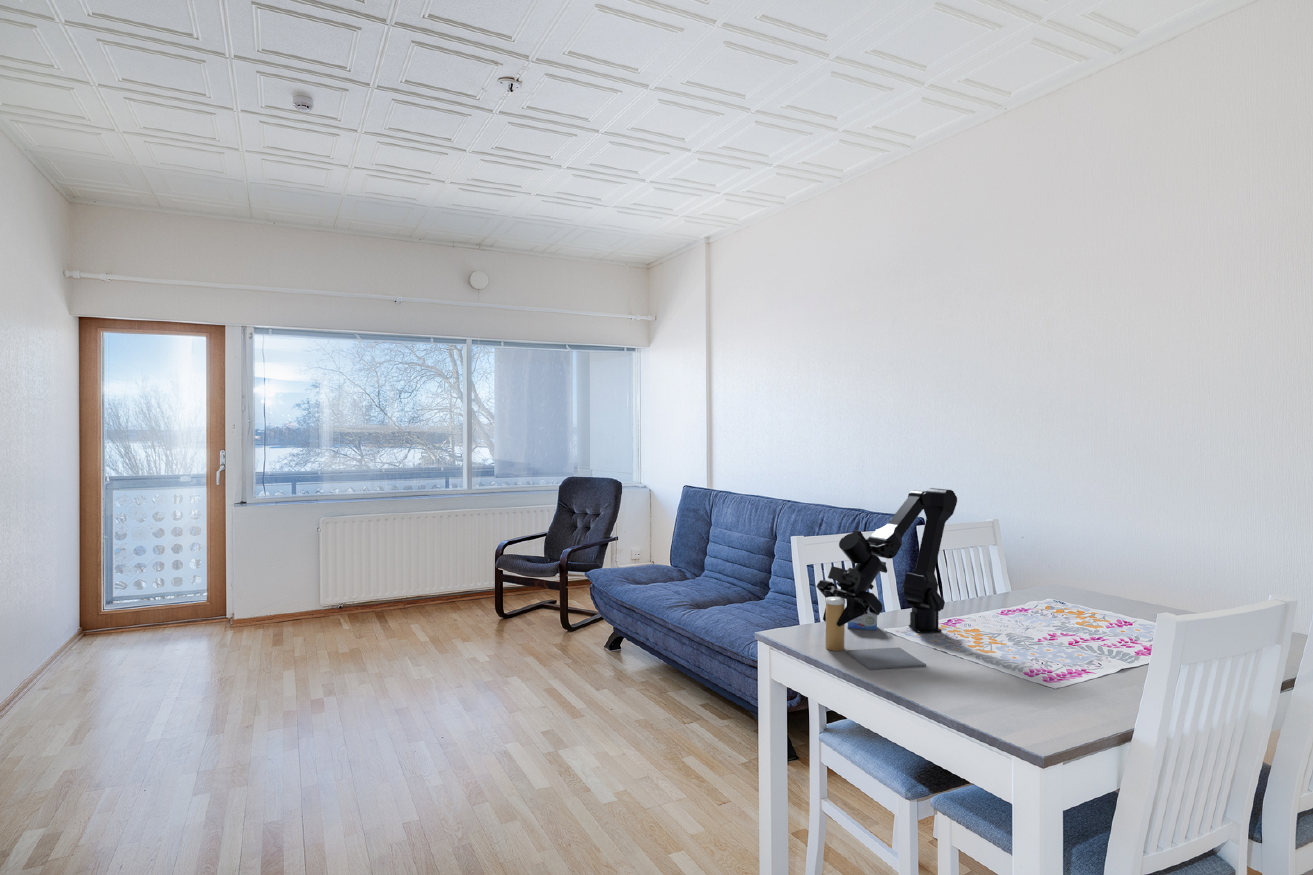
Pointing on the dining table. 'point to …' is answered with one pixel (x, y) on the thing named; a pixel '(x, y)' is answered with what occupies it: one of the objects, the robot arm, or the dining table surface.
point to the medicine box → (864, 622)
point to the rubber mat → (885, 658)
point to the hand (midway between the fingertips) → (830, 623)
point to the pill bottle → (834, 623)
